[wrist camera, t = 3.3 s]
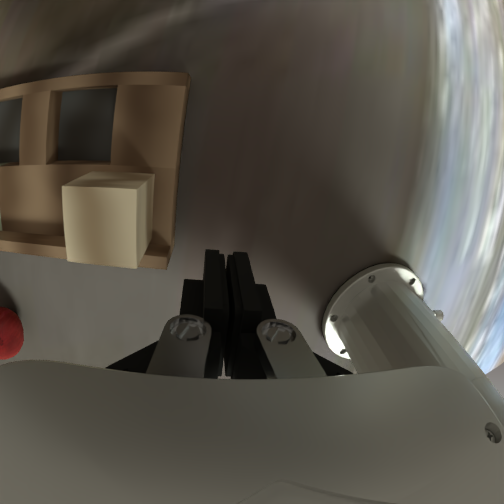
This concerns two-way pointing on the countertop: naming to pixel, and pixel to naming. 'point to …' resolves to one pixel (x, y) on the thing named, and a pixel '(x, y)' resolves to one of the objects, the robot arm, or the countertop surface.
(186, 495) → the robot arm
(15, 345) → the onion
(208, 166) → the countertop surface
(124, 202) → the block
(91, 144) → the track
